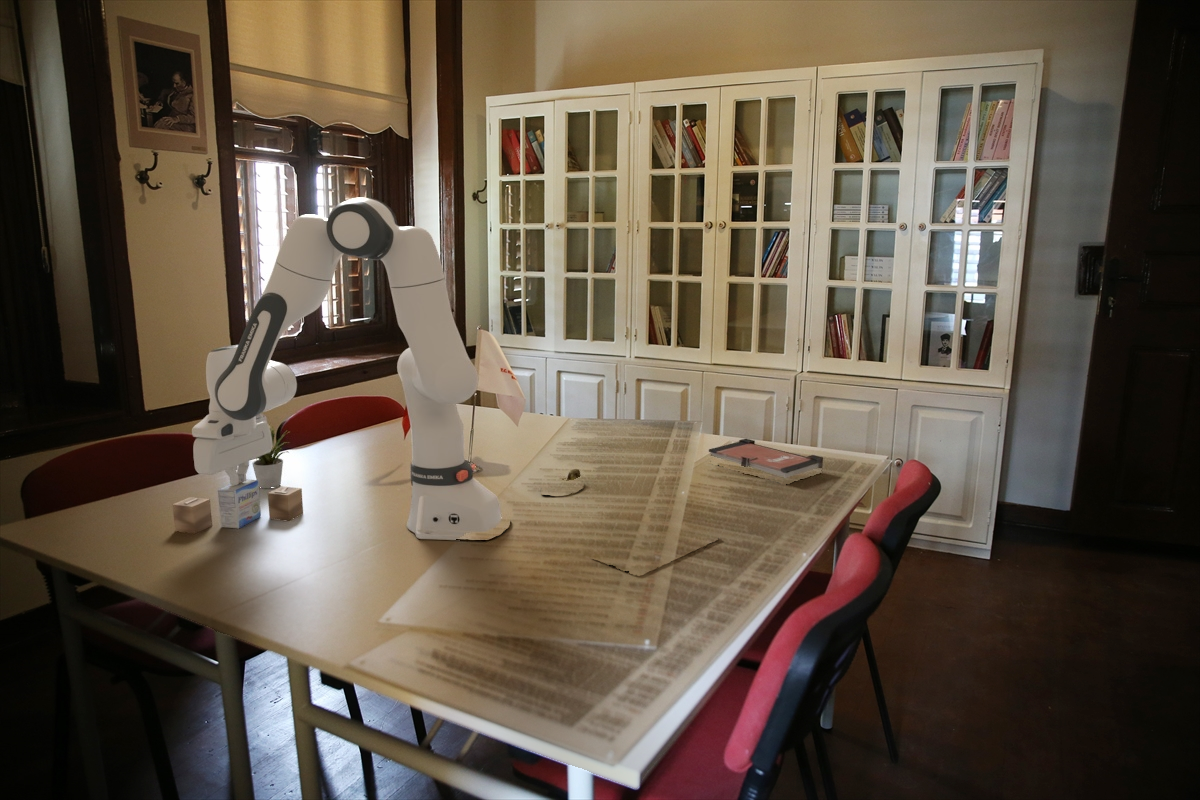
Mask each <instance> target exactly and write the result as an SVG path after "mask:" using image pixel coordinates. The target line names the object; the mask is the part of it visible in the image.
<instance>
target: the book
mask: <svg viewBox="0 0 1200 800" xmlns="http://www.w3.org/2000/svg"><path fill="white" fill-rule="evenodd" d="M708 452H709V453H710V456H714V457H717V458H721V459H725V460H728V461H732V462H736V463H739V464H741V466H744V467H748V466H749V467H752V468H755V469H758V470H761V471H764V472H767V473H770V474H774V475H777V476H780V477H784V478H787V477H790V476H793V475H797V474H800V473H804V472H807V471H810V470H813V469H817V468H822V469H823V463H824V462H823V461H824V457H823V456H819V455H815V454H811V455H808V456H805V455H801V454H797V453H793V452H789V451H785V450H781V449H777V448H773V447H769V446H765V445H764V446H763V445H760V444H756V442H755V440H754V439H749V438H743V439H739V441H737V442H733V443H729V444H725V445H720V446H717V447H713V448H709V449H708Z"/></svg>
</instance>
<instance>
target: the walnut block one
mask: <svg viewBox="0 0 1200 800" xmlns="http://www.w3.org/2000/svg"><path fill="white" fill-rule="evenodd" d="M172 514H173V523H174V531H175V532H177V531H179V532H178V533H185V532H187V534H193V533H194V535H196V534H198V533H200V532H202V531H204V530H206V529H209V528H210V527H212V526H213V518H212V517H213V516H212V507H211V499H210V498H202V497H193V496H189V497H187V498H184V499H182V500H180V501H177V502H175V503H172ZM195 533H196V534H195Z"/></svg>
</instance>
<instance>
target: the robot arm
mask: <svg viewBox="0 0 1200 800" xmlns="http://www.w3.org/2000/svg"><path fill="white" fill-rule="evenodd" d="M343 255H346V256H349V257H353V258H359V259H367V260H373V261H379V260H380V261H381V262H382V263H383V265H384V268H385V271H386V273H387V278H388V283H389V288H390V293H391V297H392V303H393V306H394V307H393V308H394V311H395V315H396V316H395V317H396V321H397V325H398V327H399V328H400V330H401V332H402V333H403V335H404V337H405V340H406V342H407V345H408V348H406V349H405V350H404V351H403V352H401V354H400V355H399V357H398V360H397V363H396V365H397V366H396V369H397V374H398V377H399V379H400V381H401V384H402V385H401V386H402V389H403V395H404V401H405V405H406V409H407V414H408V419H409V424H410V432H411V435H410V436H411V456H412V457H411V458H412V459H411V461H410V484H411V485H410V486H411V487H412V490H411V504H410V507H409V508H410V509H409V515H408V517H407V518H408V519H407V522H406V528H407V529H408V530H409V531H410V532H412V533H414V534H415V536H416V538H417V539H420V540H439V541H441V540H443V541H444V540H447V541H457V540H456V539H458V538H460V537H462V536H464V534H466V533H470V532H471V533H472V532H487V531H489V530H491V529H493V528H494V527H496V526H497V525H498V524H499V523H500V521H501V519H502V517H501V514H502V510H501V506H500V501H499V498H498V496H497V495H496V494H495V493H493V492H492V491H491V490H489V489H488V488H487V487H486V486H484V485H483V484H482V483H480V481H478V480H477V479H476V478H475V477H474V475H473V474H474V472H473V471H475V469H476V463H473V464H472V465H470V464H469V463H468V462H467V460H466V459H465V428H464V427H465V426H464V423H463V420H462V419H461V416H460V413H459V410H458V406H457V405H458V404H461V403H464V402H467V400H469V399H471V397H472V396H473V395H474V393H476V391H477V388H478V385H479V384H478V383H479V373H478V371H477V369H476V366H475V365H474V364H473V362H472V360H471V358H470V357H469V355H468V353H467V351H466V347H465V345H464V341H463V340H462V337H461V335H460V332H459V329H458V327H457V325H456V321H455V319H454V316H453V312H452V308H451V302H450V298H449V293H448V288H447V284H446V278H445V273H444V268H443V266H442V260H441V257H440V255H439V252H438V249H437V245H436V244H435V241H434V239H433V236H432V235H431V234H430V233H429V231H427V230H426V229H424V228H422V227H419V226H412V225H411V226H410V225H408V226H400V225H398V222H397V217H396V215H395V213H394V211H393V210H392V209H391V207H390V206H389V205H388V204H386V203H385V202H383V201H382V200H379V199H376V198H373V197H372V198H371V197H354V198H350V199H348V200H345V201H342V202H340V203H338V204H337V205H336V206H334V207H333V209H331V211H330V213H329V215H328V216H327V217H323V216H321V215H318V214H302V215H300V216H297V217H296V218H295V219H294V220H293V222H292V223H291V225H290V227H289V228H288V230H287V232H286V234H285V236H284V238H283V241H282V243H281V246H280V248H279V250H278V253H277V256H276V259H275V263H274V266H273V269H272V272H271V274H270V277H269V279H268V282H267V283H266V284H267V285H266V286H265V288H264V290H263V292H262V294H261V296H260V298H259V299H258V301H257V303H256V304H255V307H254V308H253V310H252V311H251V312H252V313H250V314H251V315H250V317H249V318H248V320H247V323H246V326H245V328H244V330H243V333H242V335H241V338H240V341H239V342H238V344H235V345H227V346H224V347H222V346H221V347H219V348H214V349H212V350H211V351H209V353H208V354H207V357H206V363H205V365H206V366H205V378H206V389H207V392H208V394H209V405H208V412H209V413H208V414H207V415H206V416H205V417H203V419H201V420H200V421H199V422H197V423H196V424H195V425H194V426H193V427H192V429H191V435H192V437H194V438H195V440H194V442H193V448H192V449H193V450H192V451H193V461H194V469H195V471H196V472H197V473H198V474H199V475H205V476H213V475H216V474H218V473H221V472H223V471H224V472H225V473H226V474H227V476H228V477H229V483H230V484H231V485H238V484H240V483H243V482H245V481H246V479H247V473H248V469H249V467H250V461H251V460H254V459H256V458H257V457H259V456H262V455H264V454H267V453H269V452H271V450H273V448H274V443H273V444H272V437H271V431H272V430H271V431H270V427H271V426H270V427H269V423H268V418H267V416H266V415H265V414H263V413H265V412H268V411H271V410H273V409H275V408H277V407H281V406H282V405H285V404H287V403H288V402H290V401H292V400H293V399H294V398H295V395H296V393H297V391H298V381H297V376H296V374H295V372H294V371H293V369H292V368H291V367H289V365H287V364H286V363H283V362H281V361H275V360H271V358H272V356H273V353H274V351H275V348H276V347H277V344H278V341H279V340H280V339H281V337H282V335H283V334H284V333H285V332H286V331H287V330H288V329H289V328H290V327H291V326H293V325H294V324H296V323H297V322H298V321H300V320H302V319H303V318H305V317H306V316H309V315H310V314H312V313H314V312H315V311H317V310H318V309H319V308H320V307H321V305H322V303H323V301H325V298H326V297H327V294H328V293H329V290H330V287H331V285H332V282H333V279H334V278H333V277H334V274H335V273H336V268H337V266H338V263H339V262H340V259H341V258H342V257H343ZM272 447H273V448H272ZM257 459H258V458H257ZM230 484H229V485H230Z"/></svg>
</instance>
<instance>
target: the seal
mask: <svg viewBox="0 0 1200 800" xmlns="http://www.w3.org/2000/svg"><path fill="white" fill-rule="evenodd" d="M580 476H581V471H580V469H579V468H573V469H571V470H570V471H569V472H568V475H567V477H566V478H567V480H566V481H569V480H574V479H576V478H578V477H580ZM561 479H562V480H564V479H565V478H561Z"/></svg>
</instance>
